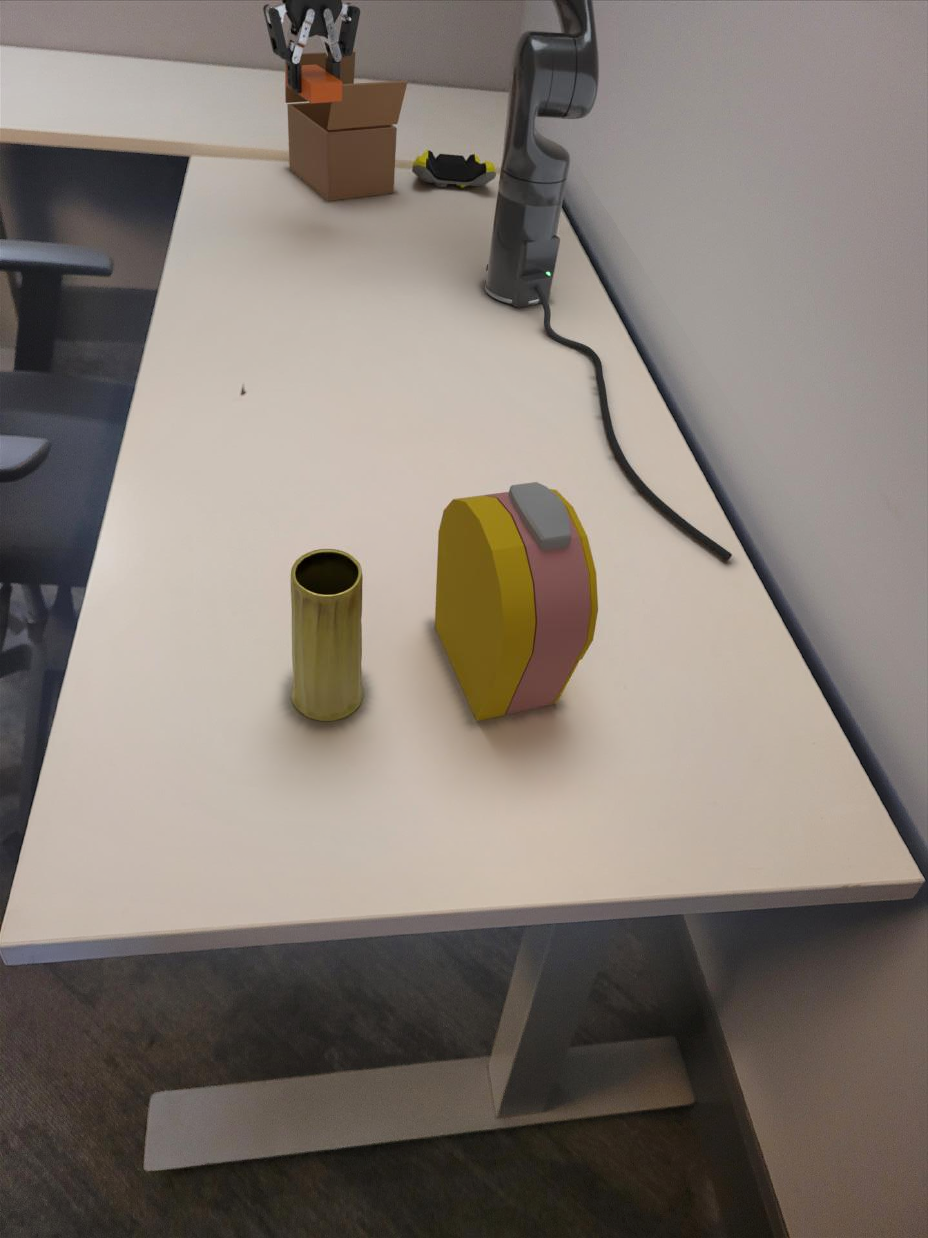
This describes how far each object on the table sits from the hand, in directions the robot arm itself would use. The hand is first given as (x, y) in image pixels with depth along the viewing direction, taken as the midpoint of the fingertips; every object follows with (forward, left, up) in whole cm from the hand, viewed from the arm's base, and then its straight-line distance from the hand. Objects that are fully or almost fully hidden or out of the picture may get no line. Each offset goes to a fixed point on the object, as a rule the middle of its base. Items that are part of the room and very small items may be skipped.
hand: (313, 89), depth 123 cm
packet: (0, 0, 0) cm, 0 cm away
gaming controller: (+9, -32, -20) cm, 39 cm away
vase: (-87, +42, -20) cm, 98 cm away
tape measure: (-91, +27, -20) cm, 96 cm away
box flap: (+8, -13, -5) cm, 16 cm away
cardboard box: (+16, -13, -19) cm, 29 cm away
